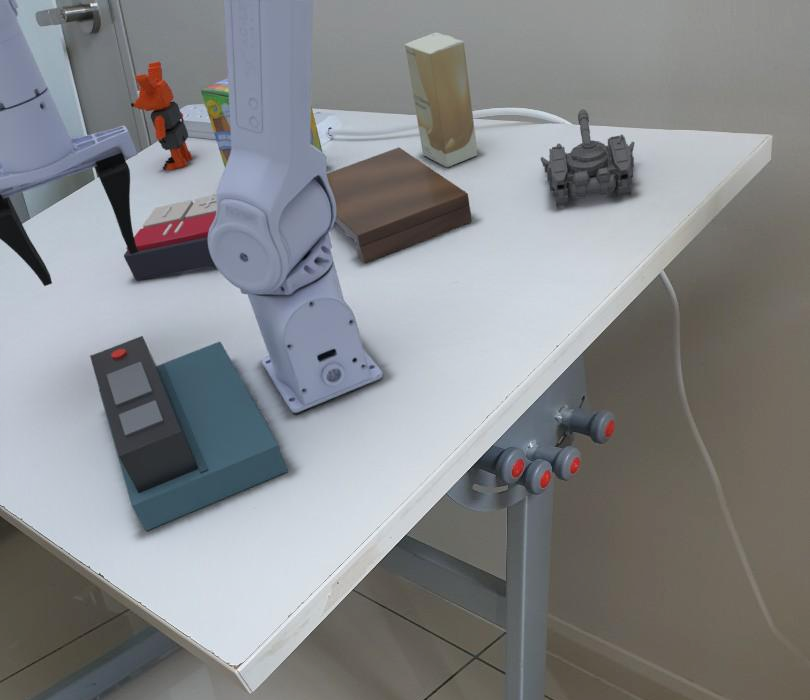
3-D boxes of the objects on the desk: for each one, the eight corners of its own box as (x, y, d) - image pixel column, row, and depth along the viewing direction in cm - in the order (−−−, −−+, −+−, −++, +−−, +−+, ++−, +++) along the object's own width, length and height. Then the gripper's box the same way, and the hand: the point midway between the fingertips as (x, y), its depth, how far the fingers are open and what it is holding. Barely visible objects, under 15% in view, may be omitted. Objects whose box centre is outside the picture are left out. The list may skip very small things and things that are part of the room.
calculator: (152, 204, 99) (273, 178, 95) (168, 240, 102) (286, 215, 98) (118, 249, 92) (249, 222, 88) (136, 286, 94) (264, 261, 91)
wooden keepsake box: (472, 222, 88) (468, 193, 86) (364, 264, 86) (357, 235, 84) (404, 173, 101) (399, 146, 99) (309, 208, 99) (301, 182, 97)
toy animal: (165, 155, 123) (131, 64, 115) (201, 150, 122) (168, 57, 114) (145, 179, 118) (107, 84, 109) (182, 173, 116) (146, 77, 108)
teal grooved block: (288, 471, 64) (277, 443, 62) (146, 531, 62) (130, 504, 60) (229, 365, 77) (219, 339, 75) (110, 412, 75) (97, 386, 73)
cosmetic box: (421, 155, 104) (401, 43, 95) (453, 143, 105) (435, 30, 96) (448, 169, 99) (428, 52, 91) (480, 155, 100) (464, 38, 92)
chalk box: (229, 188, 109) (186, 59, 99) (287, 158, 112) (250, 31, 102) (271, 200, 103) (229, 65, 93) (330, 169, 106) (296, 35, 96)
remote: (198, 468, 62) (179, 428, 60) (138, 493, 61) (117, 453, 59) (158, 370, 74) (141, 333, 71) (107, 390, 73) (88, 353, 71)
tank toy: (541, 166, 94) (536, 116, 91) (631, 151, 93) (630, 99, 89) (545, 214, 86) (540, 161, 82) (644, 198, 84) (643, 144, 81)
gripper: (96, 59, 70) (161, 221, 79) (-83, 118, 68) (6, 277, 77) (108, 76, 65) (176, 247, 74) (-85, 140, 63) (10, 308, 72)
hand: (90, 265), depth 75 cm, fingers open, 7 cm apart
